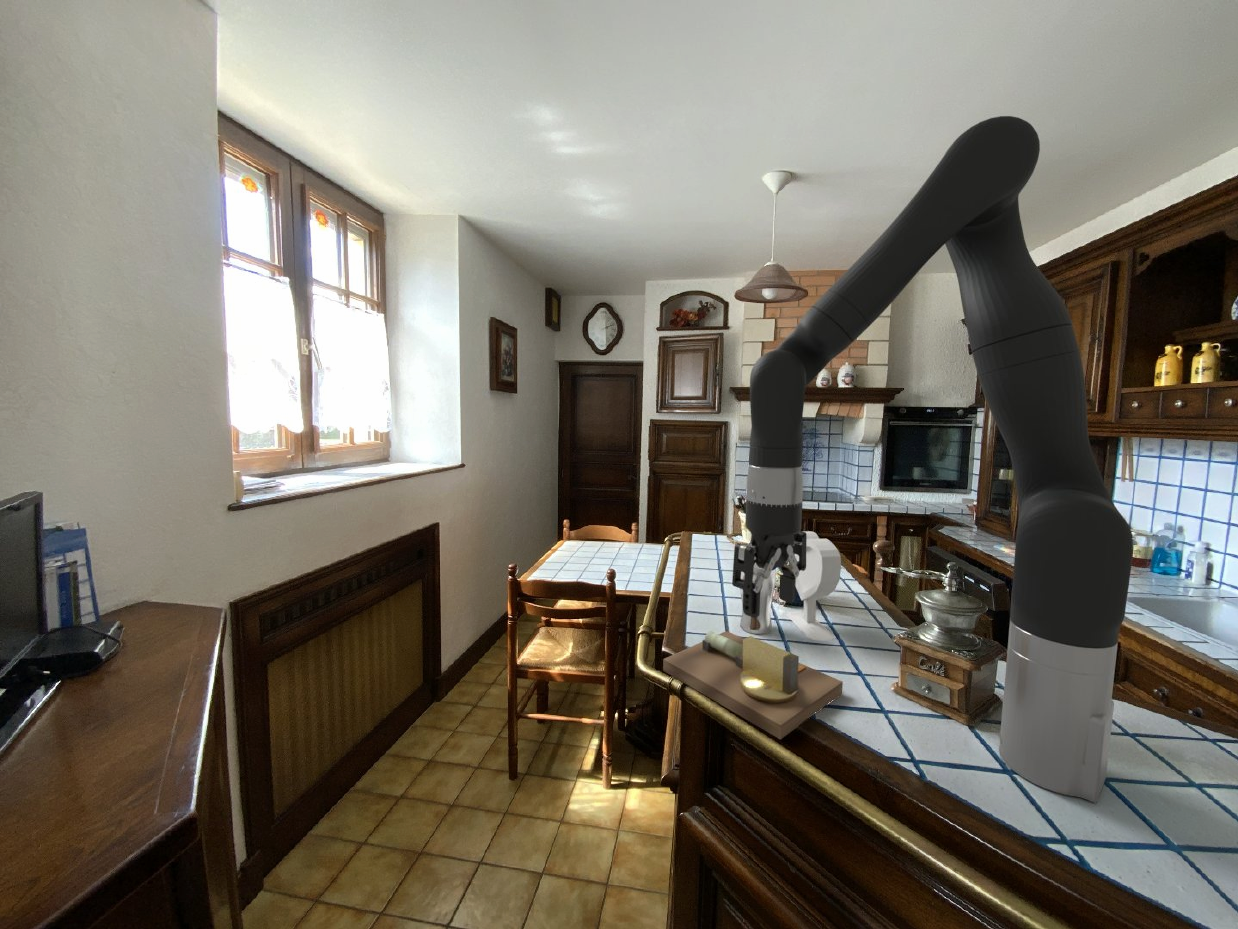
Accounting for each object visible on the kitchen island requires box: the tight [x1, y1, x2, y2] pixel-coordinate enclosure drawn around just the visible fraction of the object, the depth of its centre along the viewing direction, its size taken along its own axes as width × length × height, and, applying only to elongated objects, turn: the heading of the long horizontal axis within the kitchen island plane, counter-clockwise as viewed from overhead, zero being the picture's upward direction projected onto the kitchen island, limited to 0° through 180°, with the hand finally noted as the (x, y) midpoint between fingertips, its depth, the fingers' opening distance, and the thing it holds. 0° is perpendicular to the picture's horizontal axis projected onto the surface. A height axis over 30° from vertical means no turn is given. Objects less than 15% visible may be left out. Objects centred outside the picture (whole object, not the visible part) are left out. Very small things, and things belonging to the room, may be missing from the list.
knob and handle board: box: [662, 630, 843, 740], centre depth 77 cm, size 22×16×5 cm
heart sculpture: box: [784, 530, 842, 642], centre depth 97 cm, size 16×5×18 cm, turn 5°
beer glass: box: [739, 562, 777, 635], centre depth 96 cm, size 7×7×15 cm
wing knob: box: [740, 635, 800, 703], centre depth 72 cm, size 8×8×6 cm
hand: (769, 607), depth 71 cm, fingers open, 8 cm apart
